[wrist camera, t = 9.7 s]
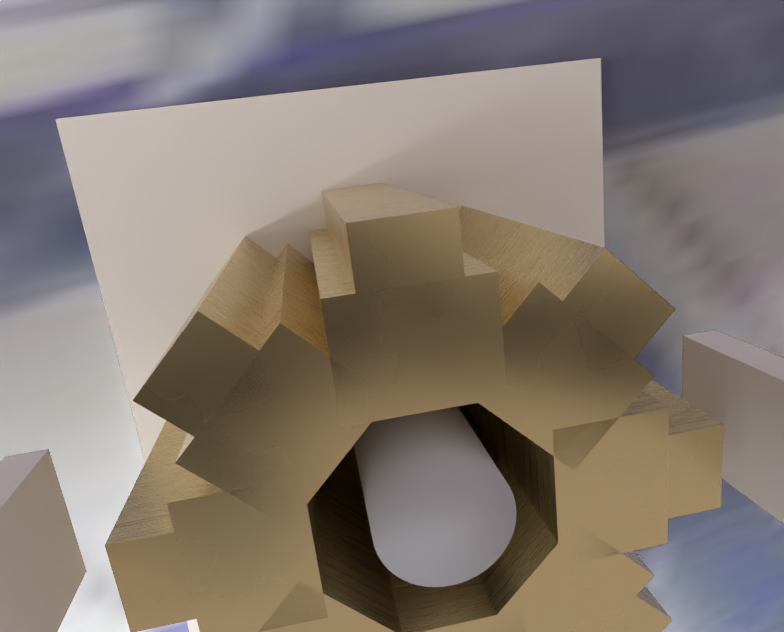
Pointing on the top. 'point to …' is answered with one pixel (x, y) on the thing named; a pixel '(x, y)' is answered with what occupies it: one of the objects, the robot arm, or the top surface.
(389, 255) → the brass gear
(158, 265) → the gear board
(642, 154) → the top surface
